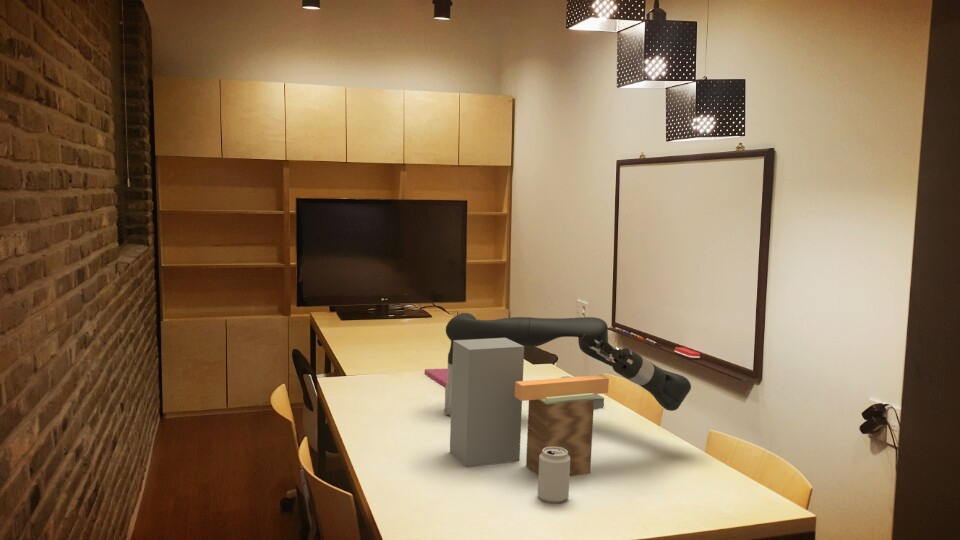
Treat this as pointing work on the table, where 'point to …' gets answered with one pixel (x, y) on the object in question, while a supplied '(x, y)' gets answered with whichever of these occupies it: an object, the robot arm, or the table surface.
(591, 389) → the orange wooden bar
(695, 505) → the table surface
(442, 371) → the thin magenta plate
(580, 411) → the walnut pedestal
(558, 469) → the can
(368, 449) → the table surface
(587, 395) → the green tray
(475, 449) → the grey stand
